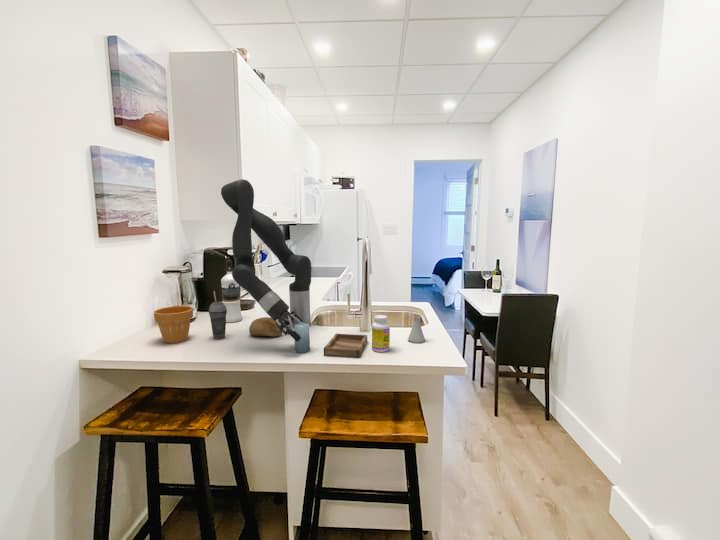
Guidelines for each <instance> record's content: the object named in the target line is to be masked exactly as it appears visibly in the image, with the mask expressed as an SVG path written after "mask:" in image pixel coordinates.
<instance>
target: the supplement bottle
mask: <svg viewBox="0 0 720 540" xmlns="http://www.w3.org/2000/svg"><path fill="white" fill-rule="evenodd" d="M390 329H391V327H390V323H388V316H387V315H383V314H378V315H375V316H374V322H373V323H371V350H372V351H374V352H377V353H386V352H388V351H389V350H390V338H391V337H390V333H391V332H390Z"/></svg>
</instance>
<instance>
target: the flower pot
mask: <svg viewBox="0 0 720 540" xmlns="http://www.w3.org/2000/svg"><path fill="white" fill-rule="evenodd" d="M153 316H154V321H155V323H157V325H158V328H159V331H160V334H161V337H162V341H163V342H164V343H165V344H179V343H183V342H185V341H187V340H188V338H189V337H188V336H189V333H190V326H191V321H192V320H191V319H193V317H194V308H193V306H189V305H175V306H173V305H172V306H165V307H162V308H158V309H155V310H154V312H153ZM178 342H179V343H178Z"/></svg>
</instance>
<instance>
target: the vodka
mask: <svg viewBox="0 0 720 540" xmlns="http://www.w3.org/2000/svg"><path fill="white" fill-rule="evenodd" d="M225 263H226V274H225V275H224V276H223V277H222V278H221V279H220V283H221V286H220V287H221V291H222V293H221V294H222V295H221V296H222V301H221V302H222V303H224V304H225V306H226V308H227V314H226V324H230V323H231V324H233V323H238V322H241V320H242V318H243V315H242V310H241V298H240V285H239V284H238V283H237V282H236V281H235V280H234V279H233V276H232V270H233V260H226V262H225Z"/></svg>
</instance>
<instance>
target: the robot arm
mask: <svg viewBox="0 0 720 540" xmlns="http://www.w3.org/2000/svg"><path fill="white" fill-rule="evenodd" d="M220 194H221V197H222V200H223V201H224V203H225V204H226V205H227V206H228V207H229V208H230V209H231V210H232V211H233V212H235V214H237V218H236V221H235V225H234V228H233V232H232V238H231V239H232V240H231V241H232V243H231V245H232V254H233V258H234V259H235V261H236V265H235V266H234V267H232V276H233V279H234V280H235V281H236V282H237V283H238V284H239V287H241V288H242V289H244V291H246V292H247V293H248V294H249V295H250V296H251V297H252V298H253V300H255V302H257V303H258V305H259V306H260V308H261V309H263V311H264V312H265V313H266V314H267V315H268V316H269V318H272V319H273V320H274V321H276V320H277V322H276V323H275V324H276V325H277V327H278V328H279V329H280V330H281V331H282V334H284V335H285V336H287V335H288V336H290V337H291V338H292V340H294V342H295V341H296V342H298V341H299V340H300V339H301V337H300V336H299V335H298V334H297V333H296V331H294V325H295V324H297V323H308V324H309V328H310V327H311V301H310V300H311V296H310V295H311V294H310V292H311V291H310V289H311V288H310V287H311V283H312V262H311V259H310V257H309V256H306V255H302V254H295V253H294V252H293V251H292V250H291V249H290V248H289V247H288V244H287V243H286V239H285V234H284V232H283V230H282V229H281V227H280V226H279V224H277V223H276V222H275V221H274V220H273V219H272V218H270V217H269V216H267V215H265V214H264V213H262V212H261V211H259V210H256V209H255V208H254V202H255V191H254V188H253V185H252V184H251V182H250V181H249V180H247V179H244V178H243V179H237V180H234V181H232V182H229V183H227V184H225V185H223V186H222V187H221V189H220ZM252 231H253V232H254V233H255V234H256V236H257V237H258V238H259V239H260V240H261V241H262V243H263V244H265V246H267V248H268V249H269V250H270V251H271V253H273V254H274V255H275V257H276V258H277V260H278V261H279V262H280V263H281V265H282V267H283V268H284V269H285V270H286V272H287V273H288V274H290V275H294V281H293V282H292V283H289V286H288V288H289V289H288V290H289V292H288V293H289V305H288V304H287V303H286V302H285V301H284V300H283V299H282V298H281V297H280V296H279V294H277V292H275V291H273V290H272V288H271V287H270V286H269V285H268V284H267V283H266V282H265V281H263V280H261V279H260V278H259V277H258V276H257V275H256V266H255V262H254V261H255V260H254V257H253V245H252V244H253V243H252V242H253V241H252Z"/></svg>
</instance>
